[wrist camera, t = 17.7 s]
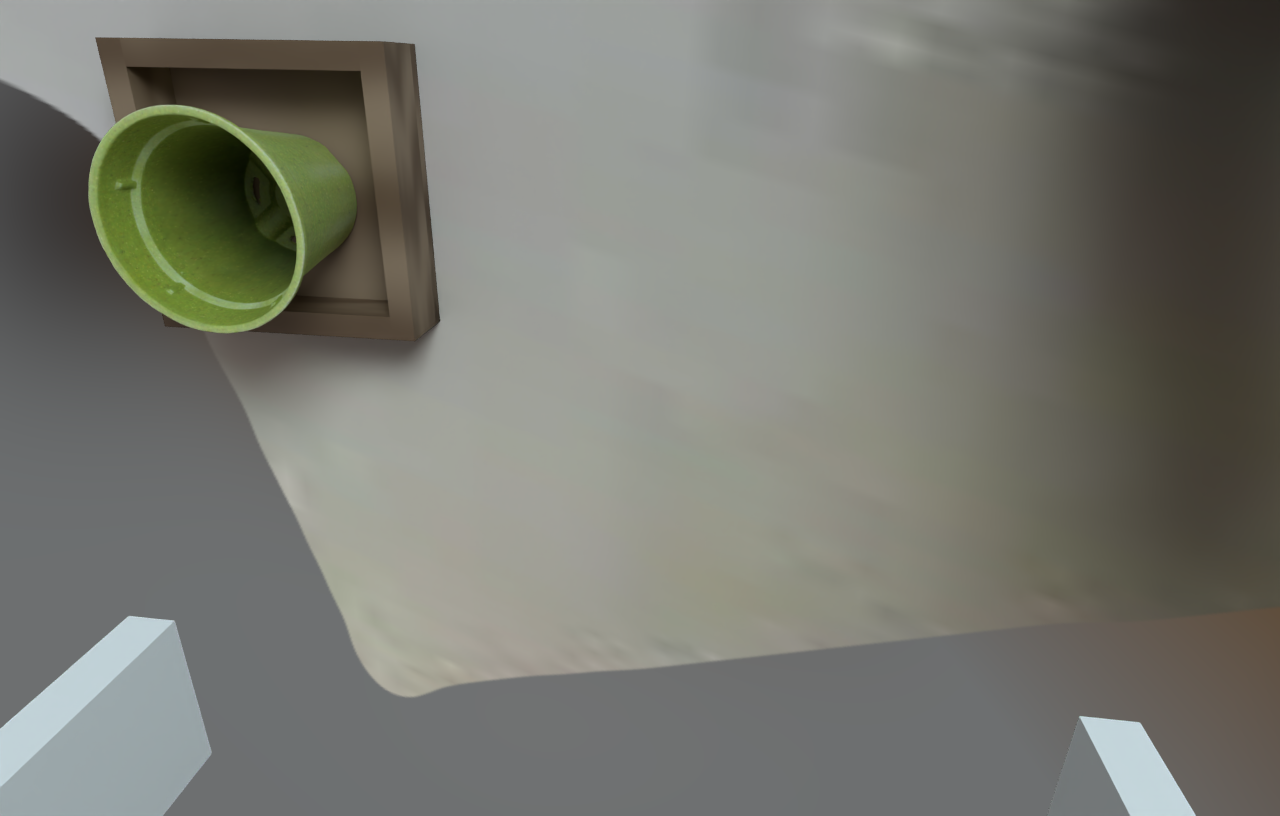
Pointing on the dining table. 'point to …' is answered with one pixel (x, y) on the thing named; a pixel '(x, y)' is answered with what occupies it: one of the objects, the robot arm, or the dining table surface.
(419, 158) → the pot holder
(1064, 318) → the dining table surface
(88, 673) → the robot arm
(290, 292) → the plant pot
